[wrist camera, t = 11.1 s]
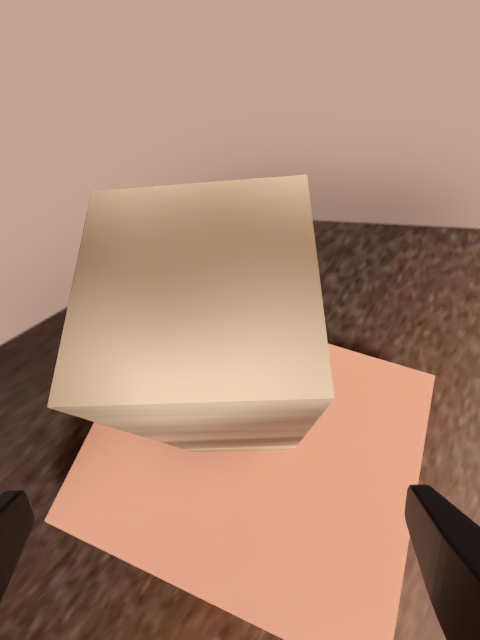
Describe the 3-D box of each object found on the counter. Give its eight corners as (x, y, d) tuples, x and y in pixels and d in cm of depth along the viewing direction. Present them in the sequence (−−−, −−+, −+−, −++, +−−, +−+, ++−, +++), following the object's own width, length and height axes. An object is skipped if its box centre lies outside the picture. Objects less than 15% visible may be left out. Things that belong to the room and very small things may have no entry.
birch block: (293, 449, 17) (334, 398, 6) (192, 452, 18) (46, 407, 6) (286, 352, 19) (306, 174, 8) (196, 356, 20) (90, 191, 8)
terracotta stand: (366, 653, 16) (385, 689, 14) (76, 514, 20) (44, 521, 17) (413, 388, 21) (435, 375, 18) (172, 313, 24) (159, 292, 22)
